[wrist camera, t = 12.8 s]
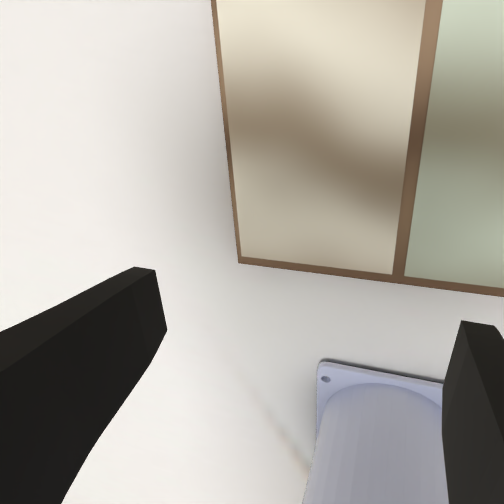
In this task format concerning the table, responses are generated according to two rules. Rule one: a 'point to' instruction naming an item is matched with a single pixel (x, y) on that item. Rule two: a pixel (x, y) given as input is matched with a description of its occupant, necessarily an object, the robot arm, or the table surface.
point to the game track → (367, 137)
